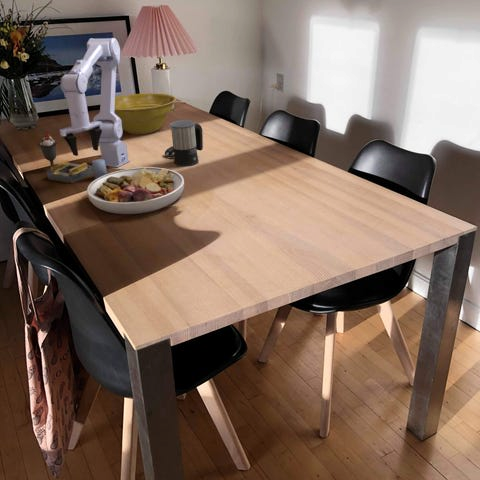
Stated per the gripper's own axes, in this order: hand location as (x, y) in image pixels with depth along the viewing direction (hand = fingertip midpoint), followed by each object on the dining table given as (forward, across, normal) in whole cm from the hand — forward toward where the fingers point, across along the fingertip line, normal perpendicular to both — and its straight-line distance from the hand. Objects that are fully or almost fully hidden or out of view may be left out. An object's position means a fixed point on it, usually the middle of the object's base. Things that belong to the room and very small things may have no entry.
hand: (85, 152), depth 172 cm
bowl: (+11, +2, -26) cm, 28 cm away
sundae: (+10, -4, +20) cm, 23 cm away
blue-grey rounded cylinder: (+10, +4, -1) cm, 10 cm away
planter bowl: (+9, +49, +37) cm, 62 cm away
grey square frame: (+10, -2, +9) cm, 14 cm away
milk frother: (+10, +34, -8) cm, 36 cm away
